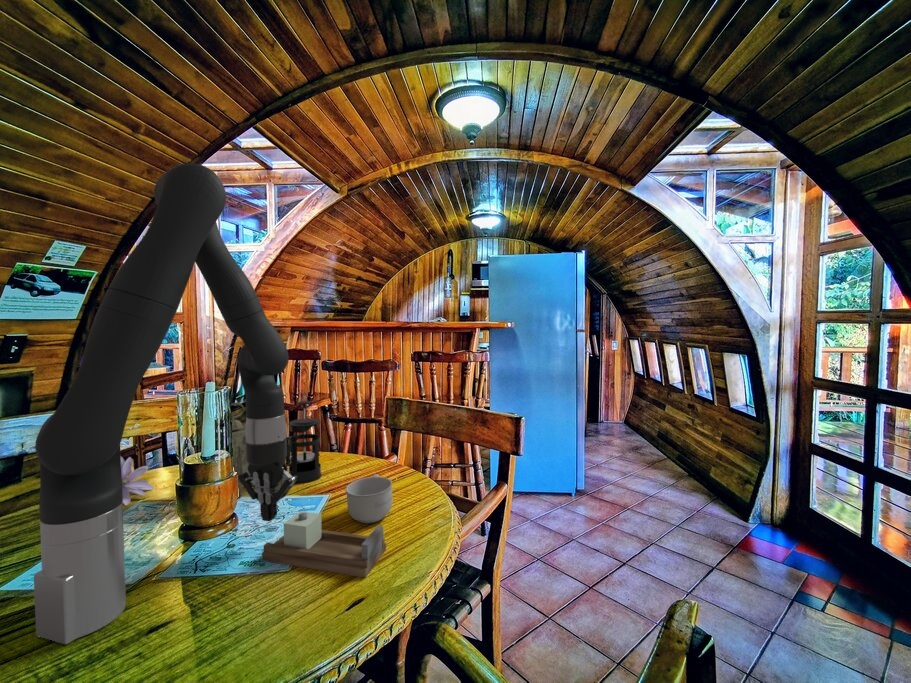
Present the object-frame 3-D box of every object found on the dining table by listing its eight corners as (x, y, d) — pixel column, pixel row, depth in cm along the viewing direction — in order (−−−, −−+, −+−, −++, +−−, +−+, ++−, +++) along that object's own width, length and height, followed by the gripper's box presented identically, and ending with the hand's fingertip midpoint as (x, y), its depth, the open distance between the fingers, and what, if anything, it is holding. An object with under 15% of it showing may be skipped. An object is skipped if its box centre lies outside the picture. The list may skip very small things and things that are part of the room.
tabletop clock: (248, 483, 113) (247, 397, 112) (269, 489, 109) (268, 400, 108) (195, 503, 100) (193, 406, 99) (216, 511, 96) (214, 410, 95)
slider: (306, 551, 76) (306, 522, 76) (283, 548, 77) (283, 519, 77) (321, 537, 81) (321, 510, 81) (300, 534, 82) (300, 507, 82)
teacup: (382, 531, 87) (382, 496, 87) (337, 525, 89) (337, 491, 89) (402, 503, 101) (402, 472, 100) (363, 499, 103) (363, 469, 103)
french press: (329, 474, 120) (329, 399, 119) (309, 485, 111) (308, 405, 110) (298, 469, 124) (297, 397, 123) (276, 480, 115) (275, 403, 114)
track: (365, 577, 71) (365, 548, 71) (262, 560, 76) (261, 532, 76) (385, 550, 80) (385, 523, 80) (291, 536, 85) (291, 511, 85)
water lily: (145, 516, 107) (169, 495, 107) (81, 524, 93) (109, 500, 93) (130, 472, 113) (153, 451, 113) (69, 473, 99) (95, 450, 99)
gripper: (224, 440, 78) (228, 524, 79) (282, 444, 75) (284, 532, 76) (252, 430, 85) (255, 507, 86) (305, 433, 82) (308, 514, 83)
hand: (269, 519), depth 81 cm, fingers closed
